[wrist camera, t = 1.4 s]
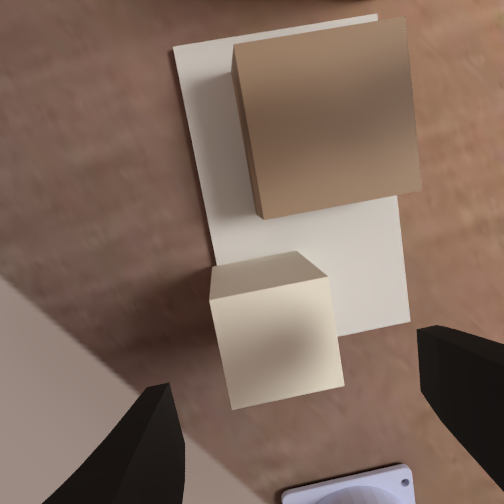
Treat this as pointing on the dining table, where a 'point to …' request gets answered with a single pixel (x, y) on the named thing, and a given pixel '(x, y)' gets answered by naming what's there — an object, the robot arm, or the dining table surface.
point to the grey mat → (293, 226)
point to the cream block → (274, 328)
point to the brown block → (327, 117)
